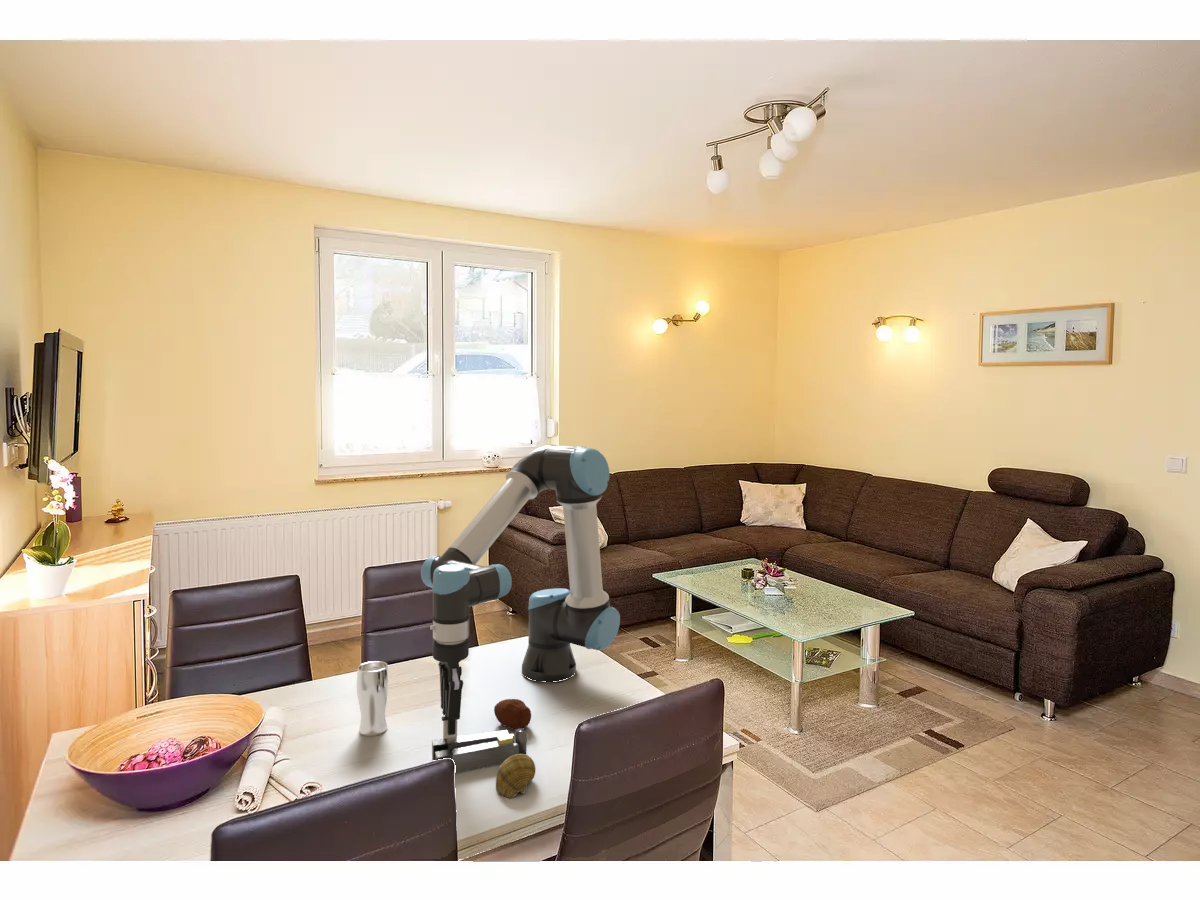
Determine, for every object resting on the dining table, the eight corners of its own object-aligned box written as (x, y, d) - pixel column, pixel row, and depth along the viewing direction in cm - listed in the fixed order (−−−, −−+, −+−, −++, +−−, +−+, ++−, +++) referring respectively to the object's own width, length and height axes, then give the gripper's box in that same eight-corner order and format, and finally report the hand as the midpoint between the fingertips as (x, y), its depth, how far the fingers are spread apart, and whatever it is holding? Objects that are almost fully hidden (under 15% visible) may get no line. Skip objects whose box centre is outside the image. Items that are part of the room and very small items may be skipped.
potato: (512, 738, 161) (512, 710, 161) (487, 724, 168) (487, 697, 167) (536, 728, 166) (536, 701, 166) (511, 715, 173) (511, 689, 172)
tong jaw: (512, 746, 157) (512, 729, 156) (515, 751, 154) (515, 734, 154) (432, 758, 151) (431, 740, 151) (433, 764, 149) (433, 745, 148)
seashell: (519, 816, 138) (546, 786, 138) (491, 801, 136) (519, 770, 136) (512, 781, 147) (538, 753, 147) (486, 766, 145) (512, 737, 145)
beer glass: (377, 739, 160) (376, 673, 158) (350, 734, 162) (350, 669, 160) (395, 725, 166) (394, 662, 165) (369, 721, 168) (368, 659, 167)
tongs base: (524, 749, 156) (524, 727, 156) (530, 758, 152) (530, 735, 152) (433, 767, 148) (433, 744, 148) (437, 777, 144) (437, 753, 144)
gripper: (427, 631, 155) (426, 735, 157) (438, 651, 144) (438, 764, 145) (461, 627, 158) (460, 730, 160) (475, 646, 147) (474, 757, 148)
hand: (450, 746), depth 153 cm, fingers closed
